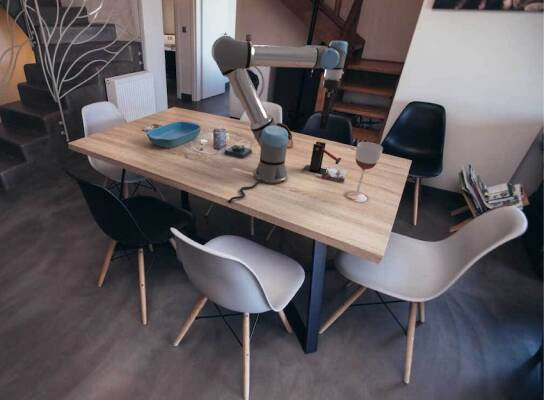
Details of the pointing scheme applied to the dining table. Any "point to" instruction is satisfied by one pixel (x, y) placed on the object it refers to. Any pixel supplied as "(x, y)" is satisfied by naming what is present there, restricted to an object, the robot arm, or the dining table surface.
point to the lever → (331, 155)
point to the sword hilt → (287, 131)
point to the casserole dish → (174, 134)
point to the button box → (238, 151)
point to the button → (238, 145)
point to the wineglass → (366, 161)
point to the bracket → (316, 159)
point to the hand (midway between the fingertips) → (323, 124)
